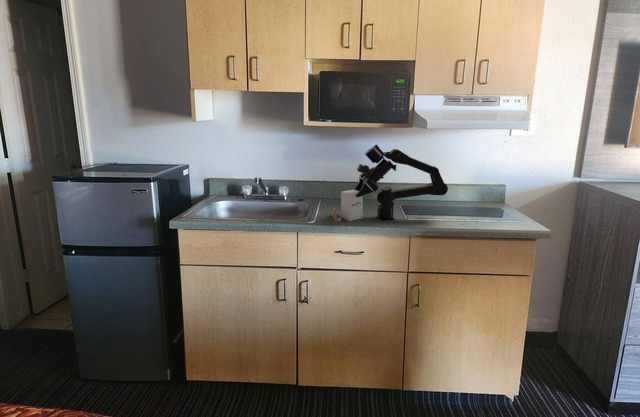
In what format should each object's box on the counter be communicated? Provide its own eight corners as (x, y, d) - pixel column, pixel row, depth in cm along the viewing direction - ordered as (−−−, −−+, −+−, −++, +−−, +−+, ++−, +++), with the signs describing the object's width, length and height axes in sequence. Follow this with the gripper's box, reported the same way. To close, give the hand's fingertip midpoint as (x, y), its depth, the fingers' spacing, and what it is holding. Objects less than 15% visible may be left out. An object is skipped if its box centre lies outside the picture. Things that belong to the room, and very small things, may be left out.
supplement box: (350, 221, 191) (350, 194, 188) (340, 217, 197) (340, 191, 194) (363, 218, 195) (363, 191, 192) (353, 215, 201) (353, 189, 198)
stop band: (338, 215, 201) (338, 207, 200) (341, 221, 191) (341, 213, 190) (332, 215, 201) (332, 207, 200) (334, 221, 191) (335, 213, 190)
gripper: (364, 155, 199) (340, 178, 201) (371, 160, 181) (345, 186, 183) (380, 172, 202) (356, 195, 204) (389, 179, 184) (362, 203, 186)
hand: (355, 194), depth 194 cm, fingers open, 9 cm apart
